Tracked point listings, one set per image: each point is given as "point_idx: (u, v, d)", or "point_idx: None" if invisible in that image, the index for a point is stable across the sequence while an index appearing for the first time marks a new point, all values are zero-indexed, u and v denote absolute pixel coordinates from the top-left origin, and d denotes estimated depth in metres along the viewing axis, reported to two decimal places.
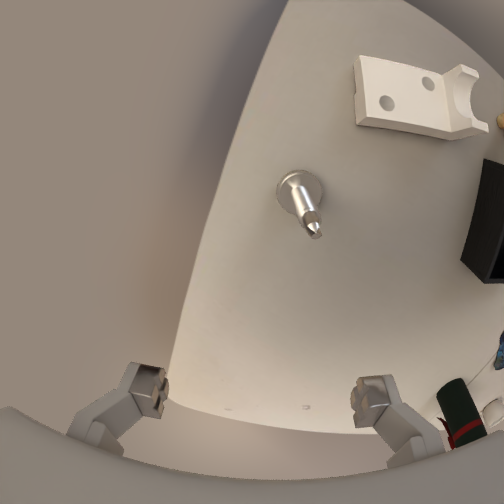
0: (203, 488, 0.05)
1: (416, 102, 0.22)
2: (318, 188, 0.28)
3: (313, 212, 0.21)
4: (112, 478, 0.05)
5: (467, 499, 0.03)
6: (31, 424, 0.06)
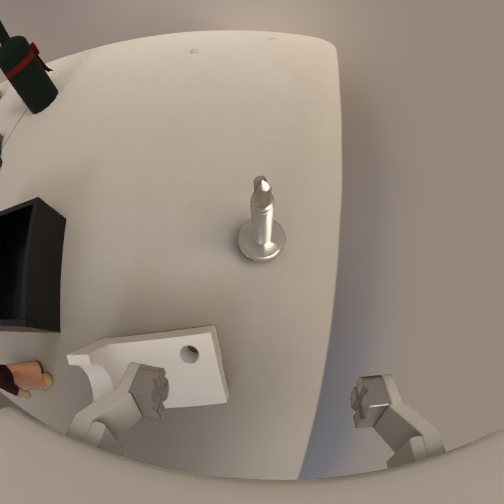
0: (203, 488, 0.05)
1: (155, 366, 0.24)
2: (243, 246, 0.28)
3: (261, 206, 0.21)
4: (112, 478, 0.05)
5: (467, 499, 0.03)
6: (31, 424, 0.06)
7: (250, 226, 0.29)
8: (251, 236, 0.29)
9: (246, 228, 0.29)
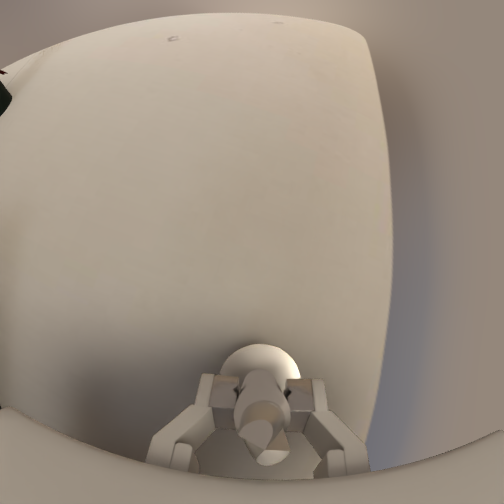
0: (203, 488, 0.05)
1: None
2: None
3: None
4: (112, 478, 0.05)
5: (467, 499, 0.03)
6: (31, 424, 0.06)
7: (239, 364, 0.15)
8: (241, 382, 0.15)
9: (232, 367, 0.15)
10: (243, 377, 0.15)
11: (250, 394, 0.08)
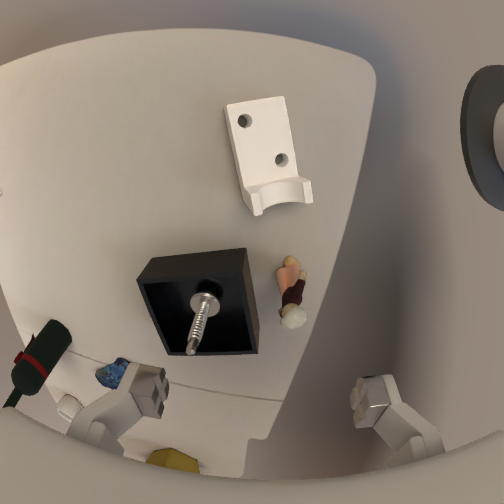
0: (203, 488, 0.05)
1: (257, 147, 0.32)
2: (211, 315, 0.45)
3: (198, 341, 0.37)
4: (112, 478, 0.05)
5: (467, 499, 0.03)
6: (31, 424, 0.06)
7: None
8: None
9: None
10: None
11: None
